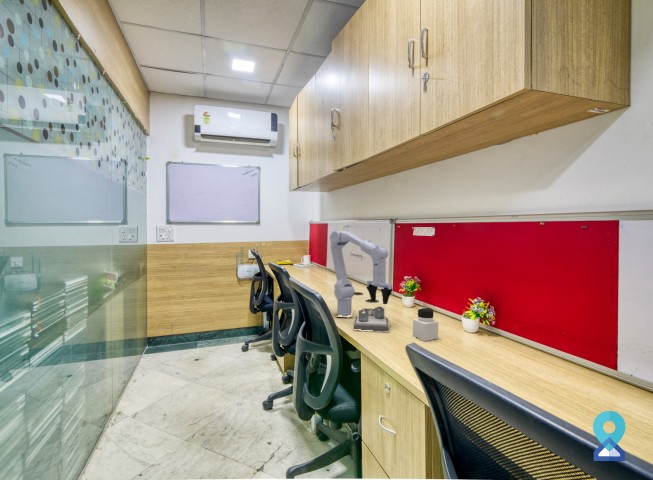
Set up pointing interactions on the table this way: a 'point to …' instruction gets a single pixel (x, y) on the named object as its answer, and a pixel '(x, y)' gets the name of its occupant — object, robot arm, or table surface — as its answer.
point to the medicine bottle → (425, 325)
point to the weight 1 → (363, 315)
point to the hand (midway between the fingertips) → (379, 302)
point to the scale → (372, 322)
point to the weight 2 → (379, 312)
